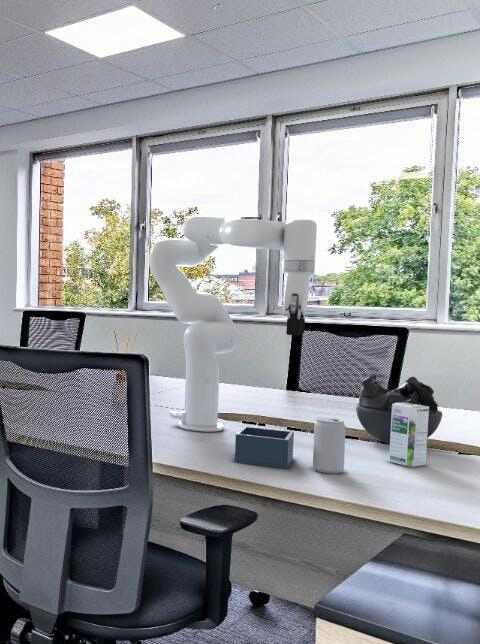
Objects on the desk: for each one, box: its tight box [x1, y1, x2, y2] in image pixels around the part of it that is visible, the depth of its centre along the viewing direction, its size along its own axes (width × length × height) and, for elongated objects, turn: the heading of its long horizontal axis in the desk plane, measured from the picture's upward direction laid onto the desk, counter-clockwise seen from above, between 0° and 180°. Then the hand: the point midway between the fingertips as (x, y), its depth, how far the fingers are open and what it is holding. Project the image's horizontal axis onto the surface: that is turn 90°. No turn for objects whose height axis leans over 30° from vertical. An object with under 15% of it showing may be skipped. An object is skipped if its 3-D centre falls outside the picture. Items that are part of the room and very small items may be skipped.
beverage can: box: [312, 417, 346, 474], centre depth 160 cm, size 6×6×12 cm
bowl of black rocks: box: [355, 373, 443, 445], centre depth 189 cm, size 20×20×19 cm
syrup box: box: [388, 403, 429, 468], centre depth 168 cm, size 6×6×14 cm
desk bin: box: [234, 425, 295, 470], centre depth 169 cm, size 12×12×7 cm
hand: (295, 334), depth 181 cm, fingers open, 9 cm apart
